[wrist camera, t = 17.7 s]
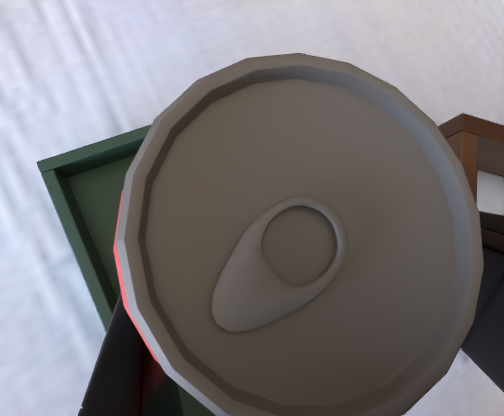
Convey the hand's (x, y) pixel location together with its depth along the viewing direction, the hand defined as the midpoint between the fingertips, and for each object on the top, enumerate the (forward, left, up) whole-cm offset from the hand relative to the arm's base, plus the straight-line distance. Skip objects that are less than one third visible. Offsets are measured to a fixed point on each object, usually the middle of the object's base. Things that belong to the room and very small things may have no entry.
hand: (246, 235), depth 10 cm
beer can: (0, 0, -7) cm, 7 cm away
